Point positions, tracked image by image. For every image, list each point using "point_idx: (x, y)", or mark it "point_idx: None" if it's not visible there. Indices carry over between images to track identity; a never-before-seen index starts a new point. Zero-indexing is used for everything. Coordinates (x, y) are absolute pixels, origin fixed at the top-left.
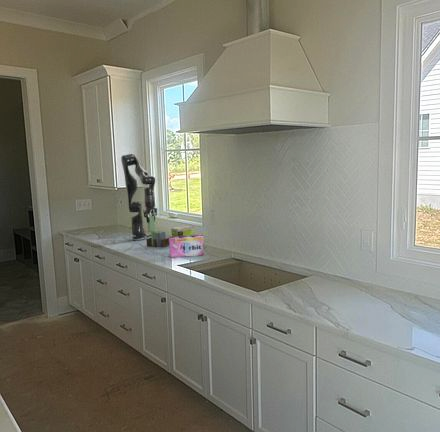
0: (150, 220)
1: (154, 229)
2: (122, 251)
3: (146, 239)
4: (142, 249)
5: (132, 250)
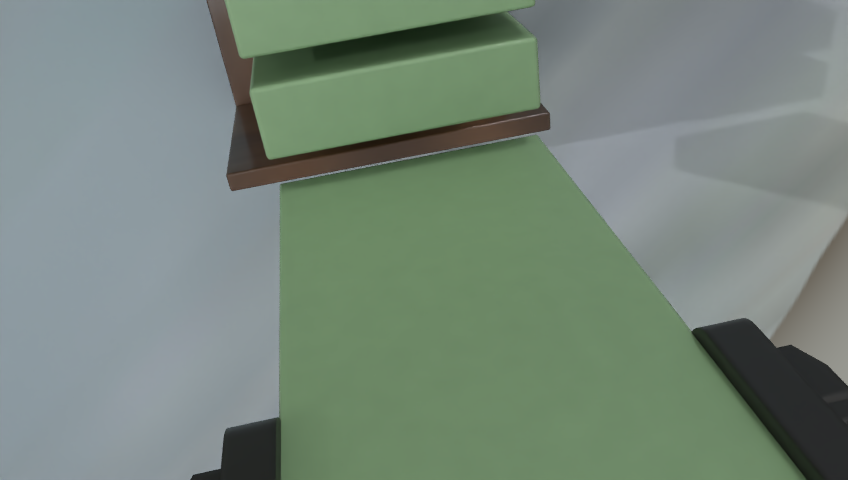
0: (636, 422)
1: (304, 199)
2: (837, 200)
3: (546, 122)
4: (645, 16)
5: (751, 118)
